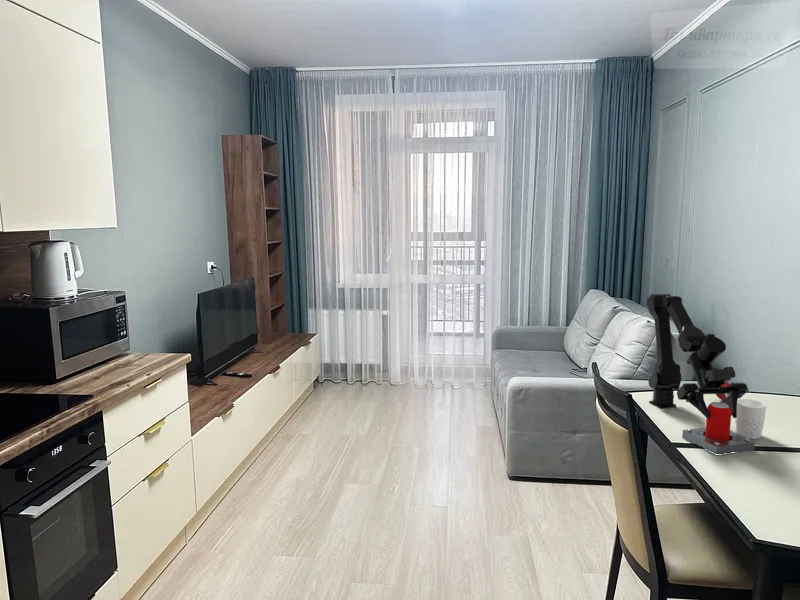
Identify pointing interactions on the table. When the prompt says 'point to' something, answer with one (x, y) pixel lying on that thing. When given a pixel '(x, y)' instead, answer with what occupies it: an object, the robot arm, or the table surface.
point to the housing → (715, 446)
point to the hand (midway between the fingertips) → (722, 417)
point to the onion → (722, 396)
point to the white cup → (750, 418)
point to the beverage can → (718, 421)
